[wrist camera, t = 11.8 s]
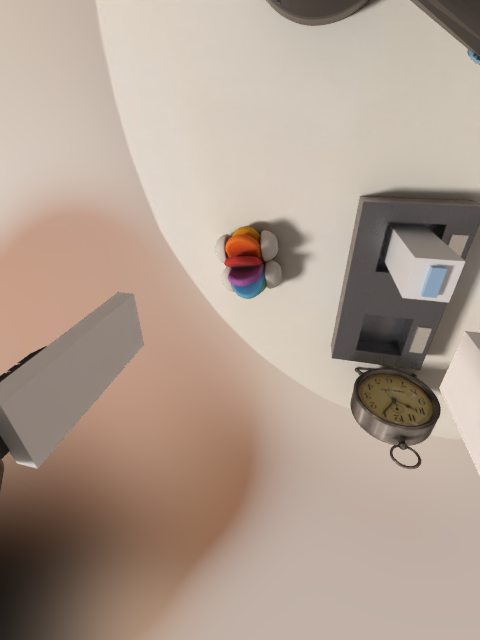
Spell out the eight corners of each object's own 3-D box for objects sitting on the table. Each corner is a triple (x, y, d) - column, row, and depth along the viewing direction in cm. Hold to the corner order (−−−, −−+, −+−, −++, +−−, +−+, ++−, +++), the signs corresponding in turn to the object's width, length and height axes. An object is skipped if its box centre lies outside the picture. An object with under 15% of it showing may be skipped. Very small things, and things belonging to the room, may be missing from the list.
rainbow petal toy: (276, 219, 40) (268, 234, 34) (284, 285, 45) (278, 309, 39) (217, 227, 43) (199, 242, 37) (230, 289, 47) (217, 312, 41)
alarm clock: (426, 367, 46) (468, 463, 33) (416, 393, 49) (452, 491, 35) (351, 359, 48) (361, 445, 35) (345, 384, 51) (354, 473, 38)
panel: (360, 196, 36) (363, 201, 33) (471, 200, 34) (487, 206, 31) (331, 344, 48) (331, 358, 45) (413, 354, 46) (420, 371, 42)
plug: (390, 224, 37) (417, 259, 26) (425, 226, 36) (468, 263, 25) (382, 256, 39) (403, 300, 28) (415, 258, 38) (451, 305, 28)
